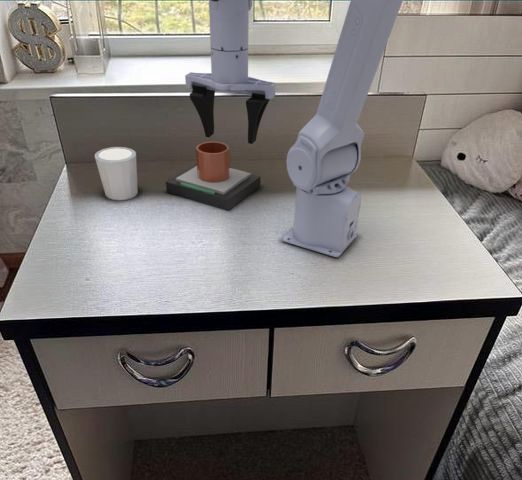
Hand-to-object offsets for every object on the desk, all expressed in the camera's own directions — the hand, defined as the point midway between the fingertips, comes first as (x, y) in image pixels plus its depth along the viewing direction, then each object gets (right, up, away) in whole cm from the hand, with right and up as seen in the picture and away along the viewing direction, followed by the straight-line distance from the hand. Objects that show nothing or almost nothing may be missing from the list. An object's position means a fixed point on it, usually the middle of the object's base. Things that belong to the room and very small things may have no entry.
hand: (230, 138), depth 88 cm
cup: (-3, -5, +5) cm, 7 cm away
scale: (-3, -7, +7) cm, 10 cm away
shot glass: (-20, -8, +5) cm, 22 cm away
